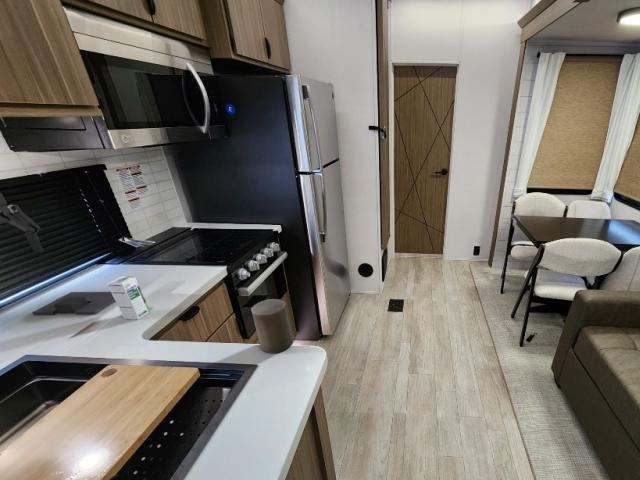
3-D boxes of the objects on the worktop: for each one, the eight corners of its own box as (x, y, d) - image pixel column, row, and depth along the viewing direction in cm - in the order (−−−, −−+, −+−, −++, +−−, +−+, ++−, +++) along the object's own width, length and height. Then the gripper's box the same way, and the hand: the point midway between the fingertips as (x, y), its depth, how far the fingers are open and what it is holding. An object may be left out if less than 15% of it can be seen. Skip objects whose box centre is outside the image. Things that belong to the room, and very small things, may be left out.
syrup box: (138, 320, 118) (122, 283, 111) (123, 319, 118) (106, 282, 111) (150, 311, 123) (135, 276, 116) (136, 311, 123) (120, 275, 116)
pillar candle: (295, 348, 102) (286, 306, 94) (261, 357, 98) (250, 313, 91) (291, 332, 109) (283, 292, 102) (259, 339, 106) (249, 298, 99)
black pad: (60, 316, 120) (53, 304, 118) (74, 308, 125) (68, 296, 123) (77, 316, 120) (70, 304, 118) (90, 308, 125) (84, 296, 123)
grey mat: (35, 318, 119) (32, 312, 118) (73, 297, 133) (70, 292, 132) (96, 317, 119) (93, 311, 118) (128, 296, 133) (125, 291, 132)
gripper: (-54, 202, 90) (-9, 273, 100) (34, 186, 112) (64, 246, 122) (-82, 202, 90) (-34, 273, 100) (11, 186, 112) (43, 246, 122)
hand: (20, 258), depth 111 cm, fingers open, 13 cm apart
